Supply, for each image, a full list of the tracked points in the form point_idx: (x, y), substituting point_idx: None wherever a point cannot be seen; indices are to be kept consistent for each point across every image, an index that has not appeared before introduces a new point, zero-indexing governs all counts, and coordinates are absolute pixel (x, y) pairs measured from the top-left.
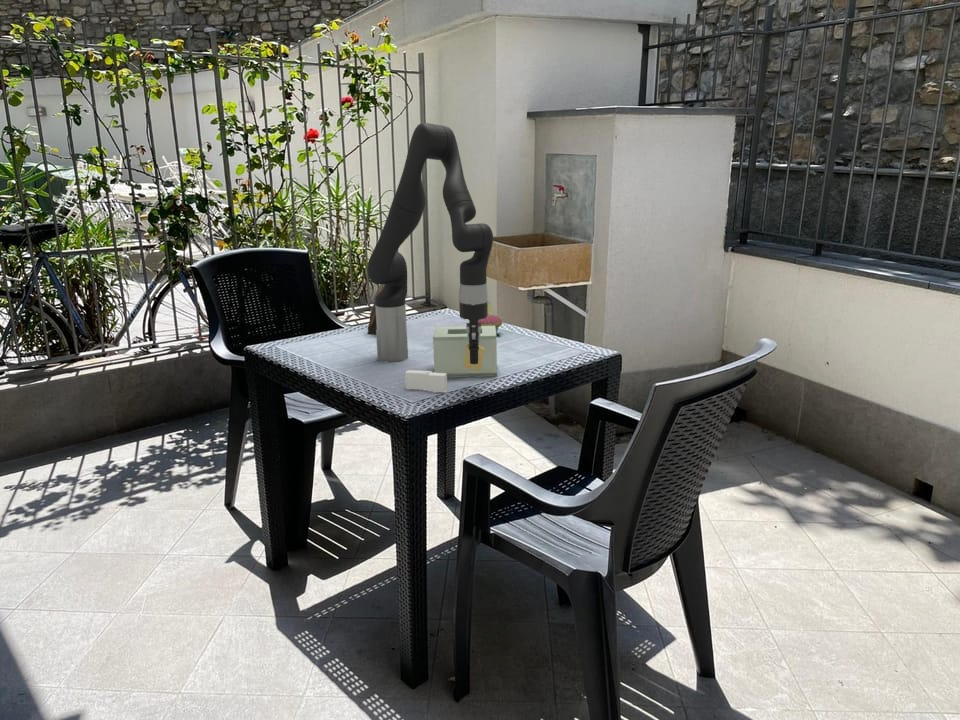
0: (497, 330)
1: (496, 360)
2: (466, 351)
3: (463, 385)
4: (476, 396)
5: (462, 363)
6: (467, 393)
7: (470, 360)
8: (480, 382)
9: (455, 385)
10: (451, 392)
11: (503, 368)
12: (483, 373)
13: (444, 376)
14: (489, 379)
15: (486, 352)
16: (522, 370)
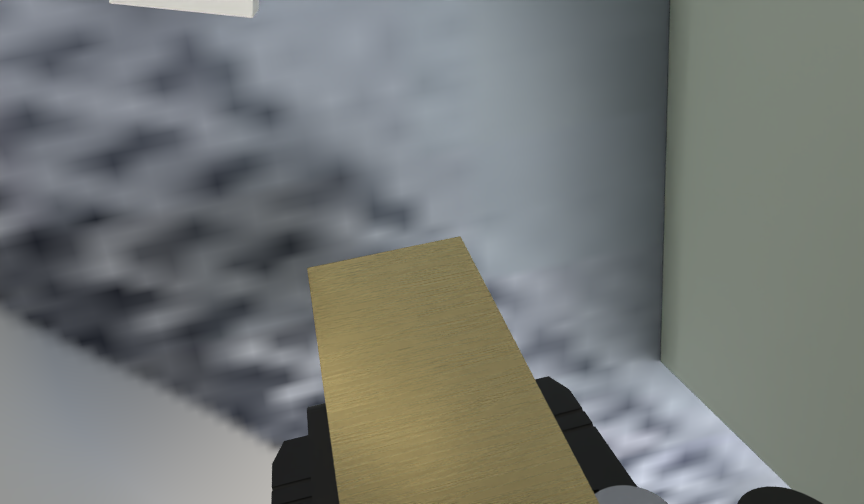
0: None
1: (747, 442)
2: (339, 491)
3: (426, 150)
4: (128, 331)
5: (759, 121)
6: (196, 236)
7: (308, 440)
8: (514, 278)
9: (421, 71)
10: (192, 71)
11: None
12: (677, 279)
13: (121, 4)
14: (587, 327)
15: (824, 420)
16: (758, 478)
